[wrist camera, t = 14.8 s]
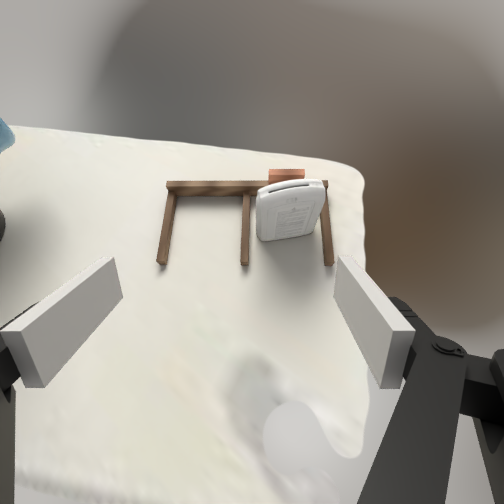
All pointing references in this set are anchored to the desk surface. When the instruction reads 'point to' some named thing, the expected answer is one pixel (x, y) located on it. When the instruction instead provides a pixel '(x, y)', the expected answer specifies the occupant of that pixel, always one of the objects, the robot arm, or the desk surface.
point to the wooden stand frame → (246, 191)
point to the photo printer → (288, 208)
